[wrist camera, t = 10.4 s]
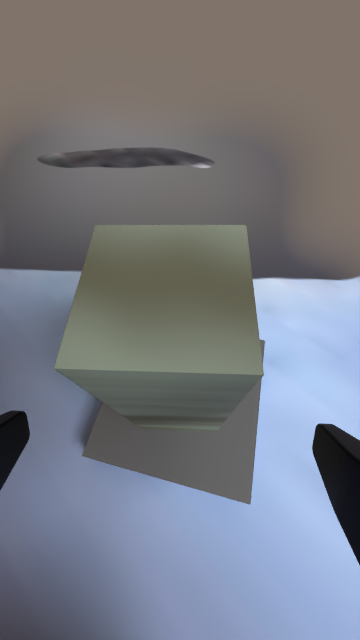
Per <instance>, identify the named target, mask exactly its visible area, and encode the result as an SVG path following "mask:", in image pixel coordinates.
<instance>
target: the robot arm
mask: <svg viewBox="0 0 360 640" xmlns="http://www.w3.org/2000/svg"><path fill="white" fill-rule="evenodd" d="M29 436H30V431H29V426H28V420H27V415H26V413H25V412H24V411H9V412H6V413H4V414H2V415H0V490H1V488H2V487H3V485H4V483H5V482H6V480H7V478H8V476H9V474H10V473H11V471H12V469H13V467H14V465H15V464H16V462H17V460H18V458H19V456H20V455H21V453H22V451H23V449H24V447H25V446H26V444H27V442H28V440H29ZM312 449H313V455H314V458H315V460H316V463H317V466H318V469H319V471H320V474H321V477H322V480H323V482H324V485H325V488H326V491H327V493H328V496H329V499H330V501H331V504H332V507H333V509H334V511H335V514H336V516H337V518H338V520H339V523H340V525H341V527H342V529H343V531H344V533H345V535H346V537H347V539H348V542H349V544H350V546H351V548H352V550H353V552H354V554H355V556H356V558H357V561H358V563H359V565H360V440H358V439H356V438H355V437H353V436H351V435H350V434H348V433H346V432H345V431H343V430H341V429H340V428H338V427H336V426H335V425H333V424H318V425H317V426H316V429H315V435H314V440H313V447H312Z"/></svg>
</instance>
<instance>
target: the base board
mask: <svg viewBox="0 0 360 640" xmlns="http://www.w3.org/2000/svg"><path fill="white" fill-rule="evenodd" d="M264 344H265V341H264V340H260V347H261V356H262V364H263V356H264ZM260 390H261V379H260V380H259V381H258V383H257V384H256V385H255V386H254V387H253V388H252V390H251V391H250V392H249V393H248V394H247V396H246V397H245V398H244V399H243V400H242V402H241V403H240V404H239V405H238V406H237V408H236V409H235V410H234V411H233V412H232V413H231V415H230V416H229V417H228V418H227V419H226V421H225V422H224V423H223V424H222V425H221V427H220V428H219V429H218V430H217V431H216V432H200V431H177V430H153V429H142V428H140V427H139V426H137V425H136V424H134V423H133V422H131V421H130V420H129V419H127V418H126V417H124V416H123V415H121V414H120V413H118V412H117V411H115V410H114V409H112V408H111V407H109V406H108V405H106V404H105V403H103V402H102V404H101V406H100V409H99V412H98V414H97V417H96V420H95V422H94V425H93V428H92V430H91V433H90V436H89V438H88V441H87V444H86V446H85V449H84V452H83V454H82V456H84V457H87V458H91V459H94V460H98V461H101V462H105V463H108V464H111V465H115V466H118V467H122V468H125V469H129V470H132V471H136V472H139V473H143V474H146V475H150V476H153V477H156V478H160V479H163V480H167V481H170V482H174V483H177V484H181V485H184V486H188V487H191V488H195V489H198V490H202V491H205V492H208V493H212V494H215V495H219V496H222V497H226V498H229V499H233V500H236V501H240V502H243V503H247V504H250V503H251V491H252V480H253V469H254V457H255V446H256V435H257V424H258V412H259V401H260Z"/></svg>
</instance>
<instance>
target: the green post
mask: <svg viewBox="0 0 360 640" xmlns="http://www.w3.org/2000/svg"><path fill="white" fill-rule="evenodd" d="M54 369H55V370H56V371H58V372H59V373H61V374H62V375H64V376H65V377H67V378H68V379H70V380H71V381H73V382H74V383H75V384H77V385H78V386H80V387H81V388H83V389H84V390H86V391H87V392H89V393H90V394H92V395H93V396H95V397H96V398H98V399H99V400H101V401H102V402H103V403H105V404H106V405H108V406H109V407H111V408H112V409H114V410H115V411H117V412H118V413H120V414H121V415H123V416H124V417H126V418H127V419H129V420H130V421H131V422H133V423H134V424H136V425H137V426H139V427H140V428H142V429H153V430H177V431H200V432H216V431H217V430H218V429H219V428H220V427H221V425H222V424H223V423H224V422H225V421H226V419H227V418H228V417H229V416H230V415H231V413H232V412H233V411H234V410H235V409H236V408H237V406H238V405H239V404H240V403H241V402H242V400H243V399H244V398H245V397H246V396H247V394H248V393H249V392H250V391H251V390H252V388H253V387H254V386H255V385H256V384H257V383H258V381H259V380H260V379H261V378H262V377H263V375H264V373H263V364H262V356H261V347H260V339H259V331H258V322H257V314H256V305H255V297H254V288H253V280H252V272H251V263H250V255H249V246H248V239H247V229H246V225H96V226H95V229H94V232H93V236H92V239H91V243H90V246H89V249H88V253H87V257H86V260H85V263H84V267H83V270H82V273H81V277H80V280H79V284H78V287H77V290H76V294H75V297H74V301H73V304H72V307H71V311H70V314H69V318H68V321H67V324H66V328H65V331H64V335H63V338H62V341H61V345H60V348H59V352H58V355H57V359H56V362H55V365H54Z"/></svg>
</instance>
